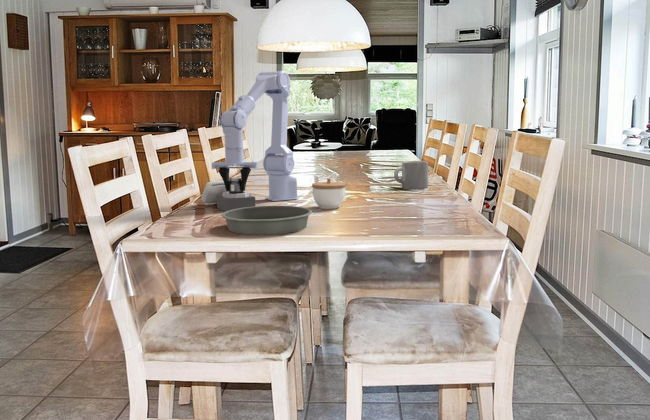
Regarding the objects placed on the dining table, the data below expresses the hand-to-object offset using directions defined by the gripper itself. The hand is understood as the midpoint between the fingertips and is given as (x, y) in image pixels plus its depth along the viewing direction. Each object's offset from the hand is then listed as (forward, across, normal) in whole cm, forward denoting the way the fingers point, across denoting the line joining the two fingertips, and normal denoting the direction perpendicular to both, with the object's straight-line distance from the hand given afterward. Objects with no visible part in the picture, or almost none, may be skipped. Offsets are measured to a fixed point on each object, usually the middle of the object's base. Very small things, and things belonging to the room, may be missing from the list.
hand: (235, 191), depth 228 cm
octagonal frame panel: (+6, 0, 0) cm, 6 cm away
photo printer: (+4, -9, +12) cm, 15 cm away
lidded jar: (+6, +30, +2) cm, 31 cm away
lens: (+2, 0, 0) cm, 2 cm away
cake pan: (+6, +16, -34) cm, 38 cm away
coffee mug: (+6, +57, +53) cm, 78 cm away
